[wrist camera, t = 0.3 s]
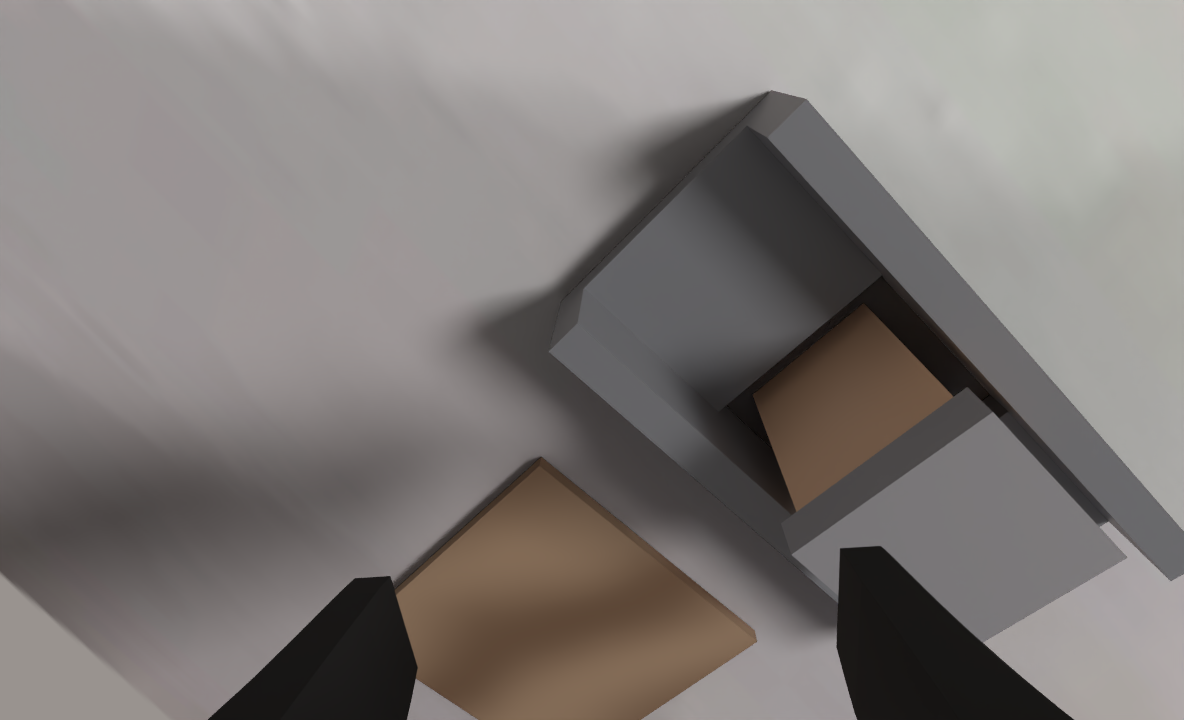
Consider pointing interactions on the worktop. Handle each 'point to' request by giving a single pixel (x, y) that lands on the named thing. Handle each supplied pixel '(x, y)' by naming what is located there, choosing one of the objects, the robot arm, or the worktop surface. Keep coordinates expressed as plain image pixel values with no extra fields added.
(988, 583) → the plug
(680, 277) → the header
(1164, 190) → the worktop surface
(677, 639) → the walnut pad
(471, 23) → the worktop surface
